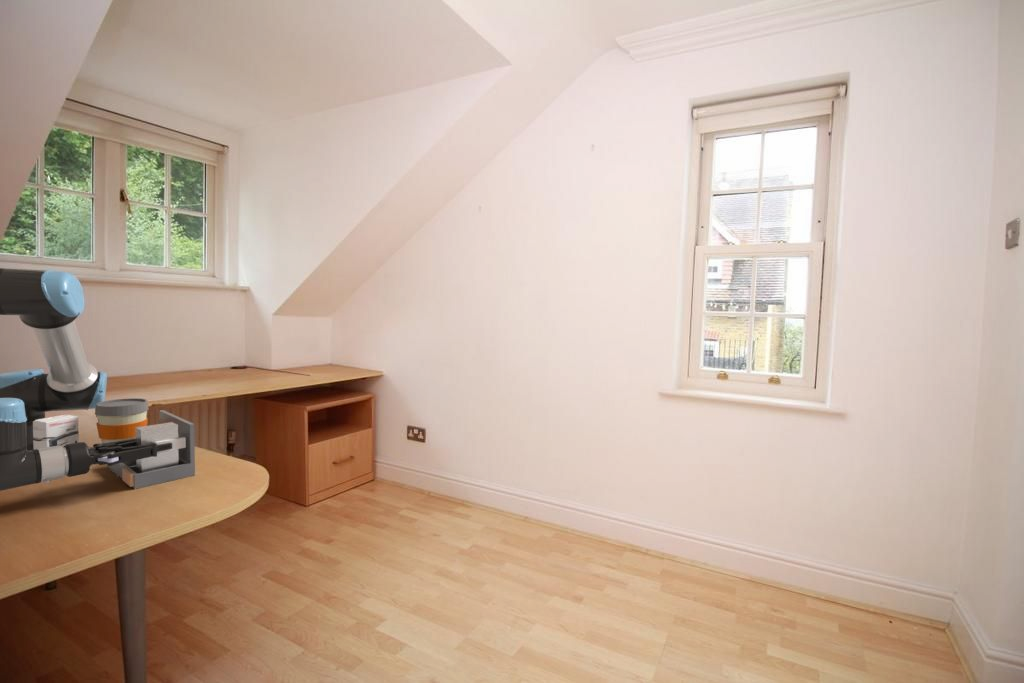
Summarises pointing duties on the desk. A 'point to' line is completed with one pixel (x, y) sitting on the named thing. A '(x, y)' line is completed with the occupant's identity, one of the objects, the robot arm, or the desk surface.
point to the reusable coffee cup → (120, 418)
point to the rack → (170, 473)
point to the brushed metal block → (151, 436)
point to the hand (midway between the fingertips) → (181, 440)
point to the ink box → (55, 431)
